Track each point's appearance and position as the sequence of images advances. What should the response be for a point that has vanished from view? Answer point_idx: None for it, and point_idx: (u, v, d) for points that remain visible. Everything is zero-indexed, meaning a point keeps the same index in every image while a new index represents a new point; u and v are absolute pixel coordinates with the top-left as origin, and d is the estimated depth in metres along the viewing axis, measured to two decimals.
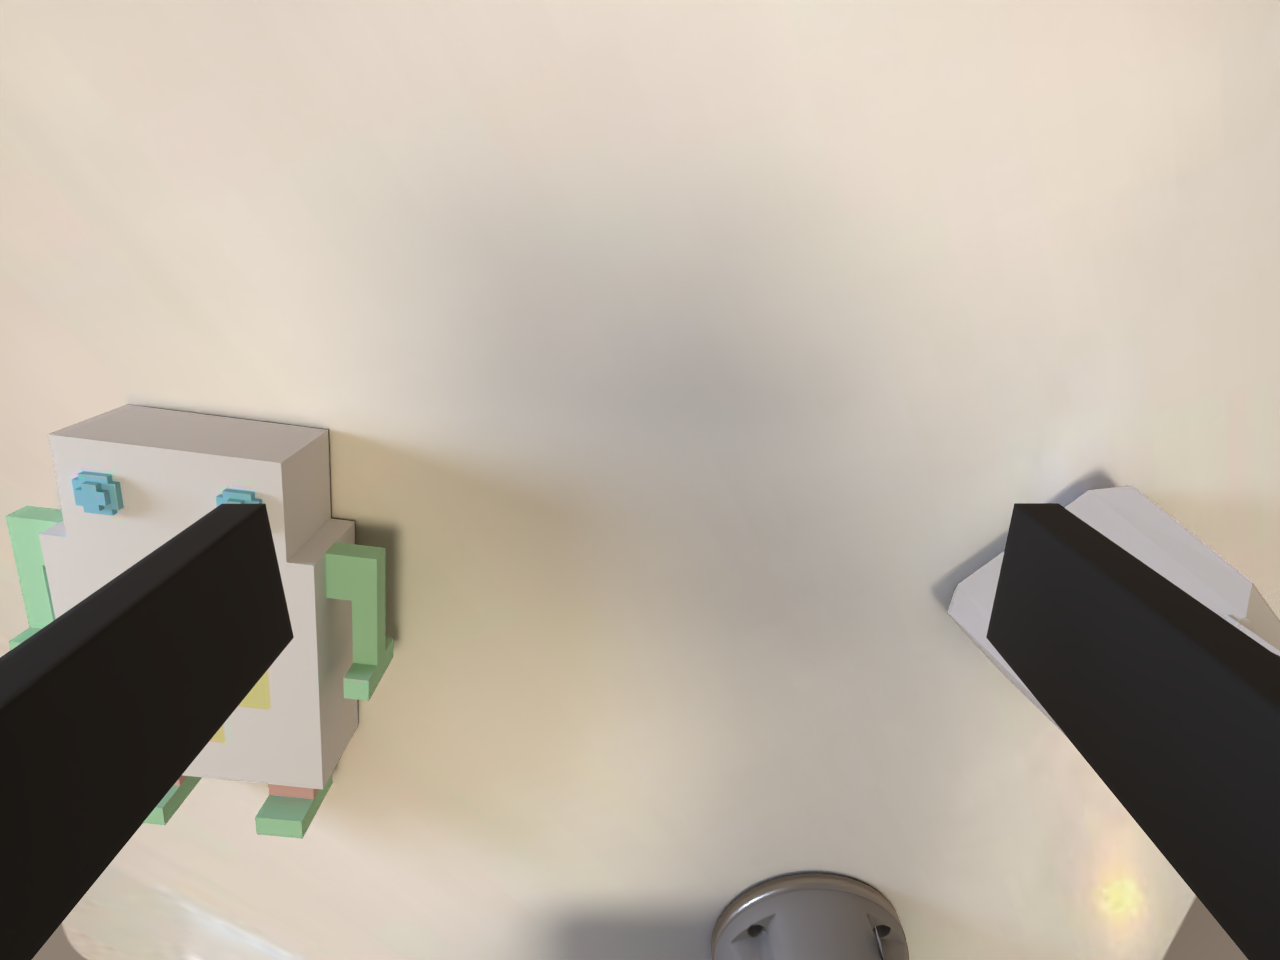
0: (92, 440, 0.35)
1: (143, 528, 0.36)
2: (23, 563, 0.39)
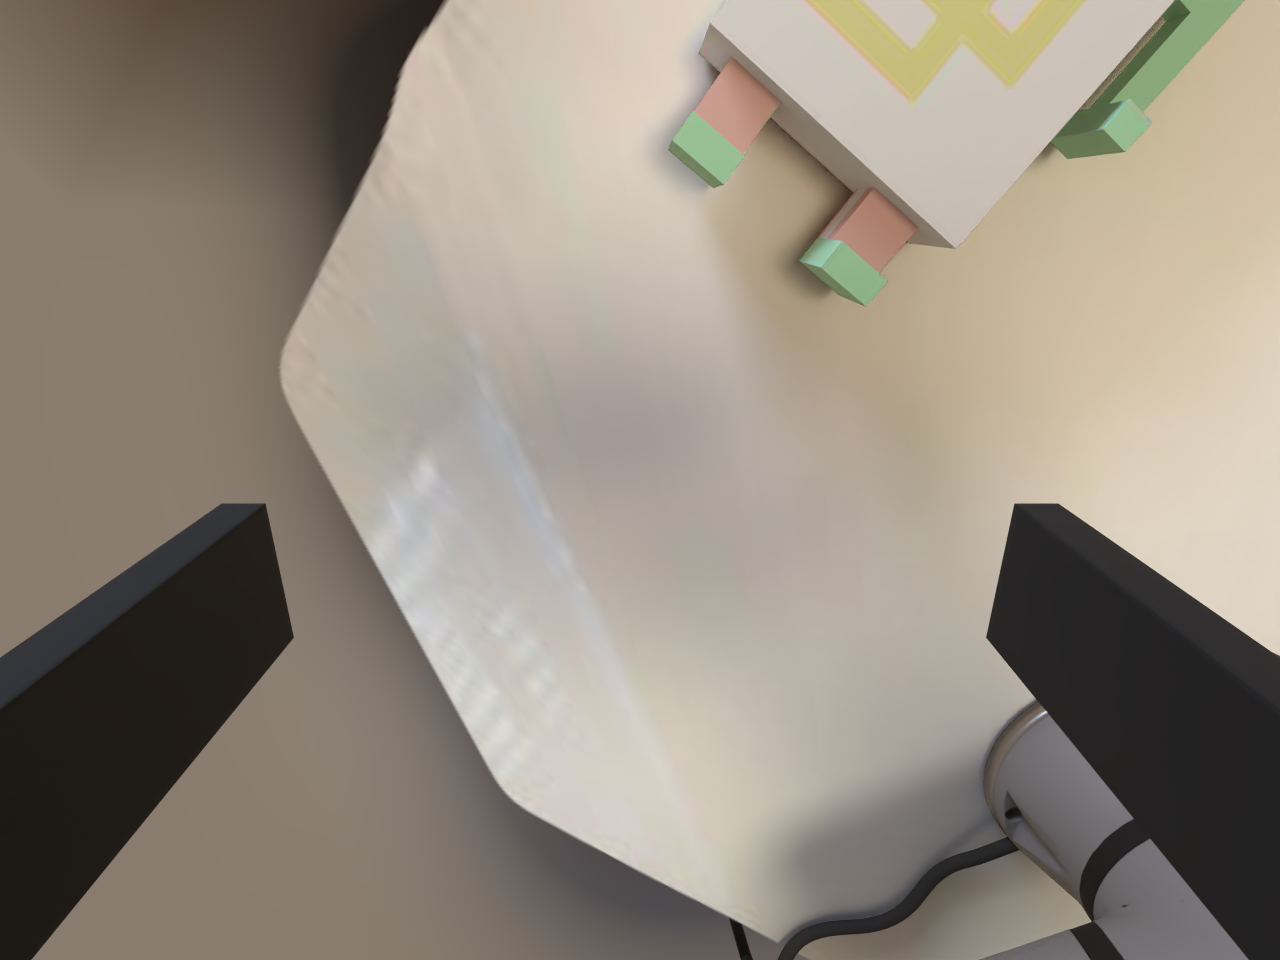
0: None
1: None
2: None
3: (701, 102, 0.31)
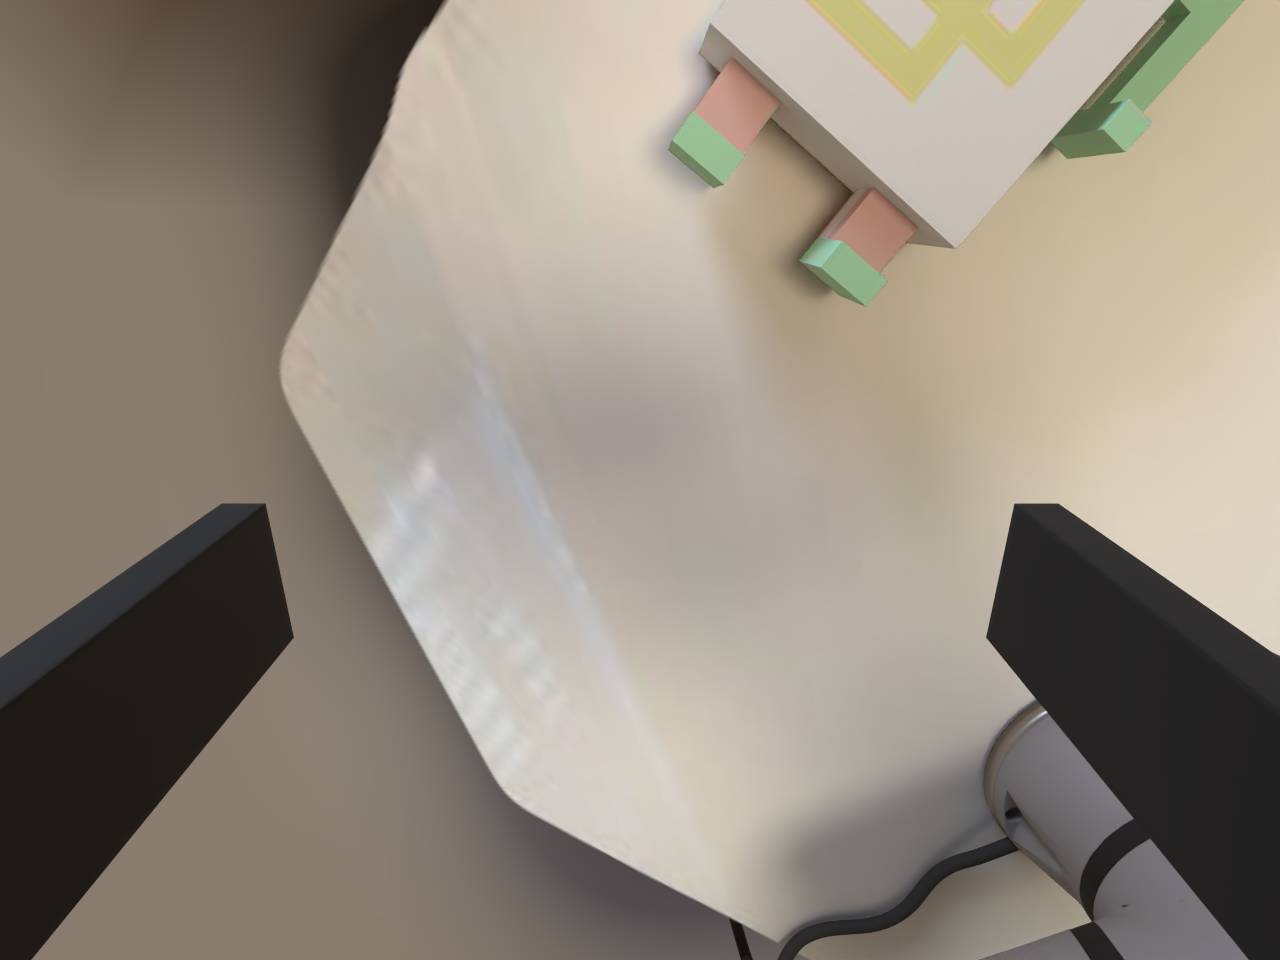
0: None
1: None
2: None
3: (701, 102, 0.31)
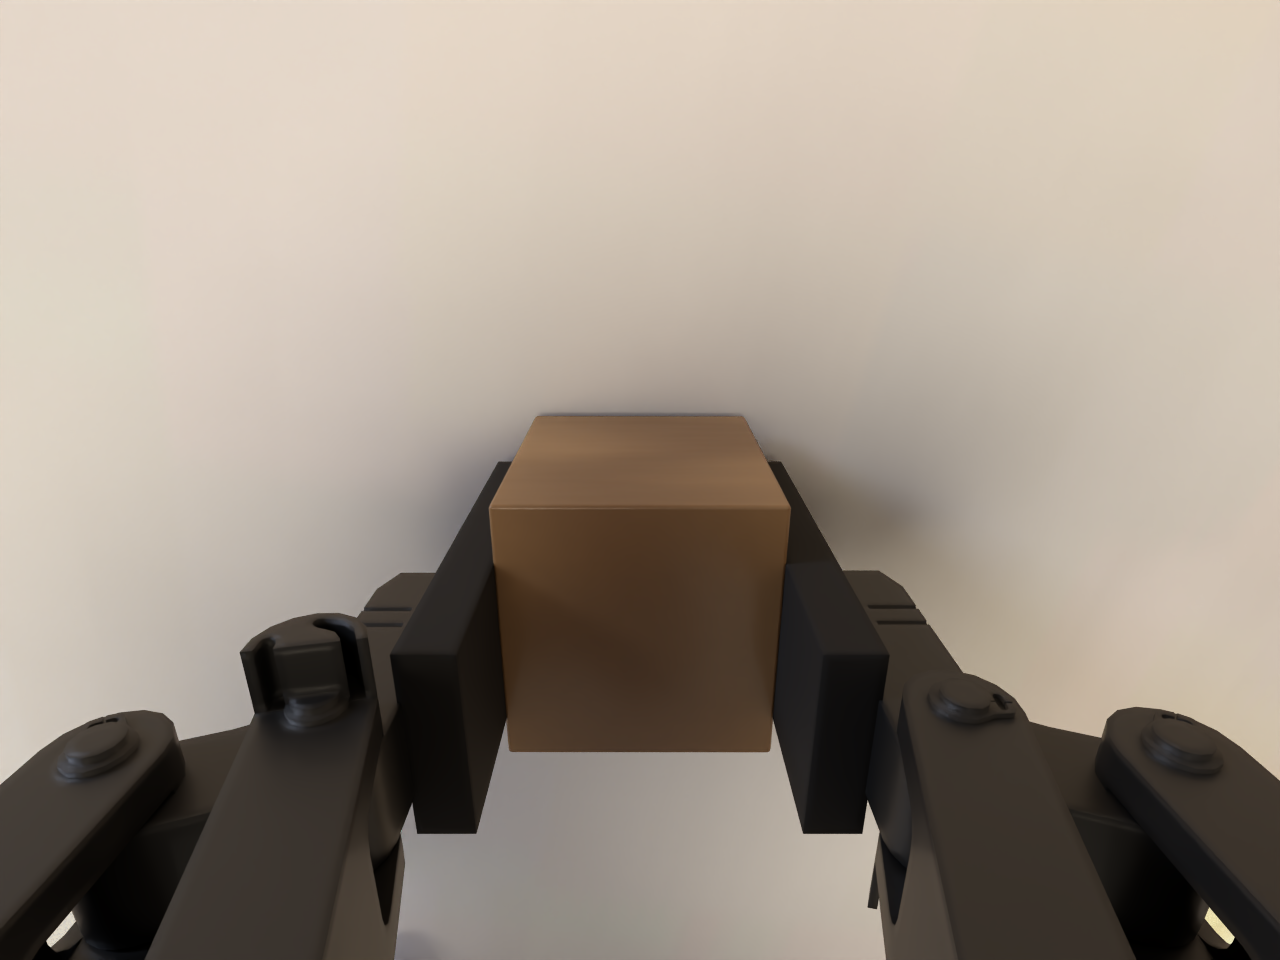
0: None
1: None
2: None
3: None
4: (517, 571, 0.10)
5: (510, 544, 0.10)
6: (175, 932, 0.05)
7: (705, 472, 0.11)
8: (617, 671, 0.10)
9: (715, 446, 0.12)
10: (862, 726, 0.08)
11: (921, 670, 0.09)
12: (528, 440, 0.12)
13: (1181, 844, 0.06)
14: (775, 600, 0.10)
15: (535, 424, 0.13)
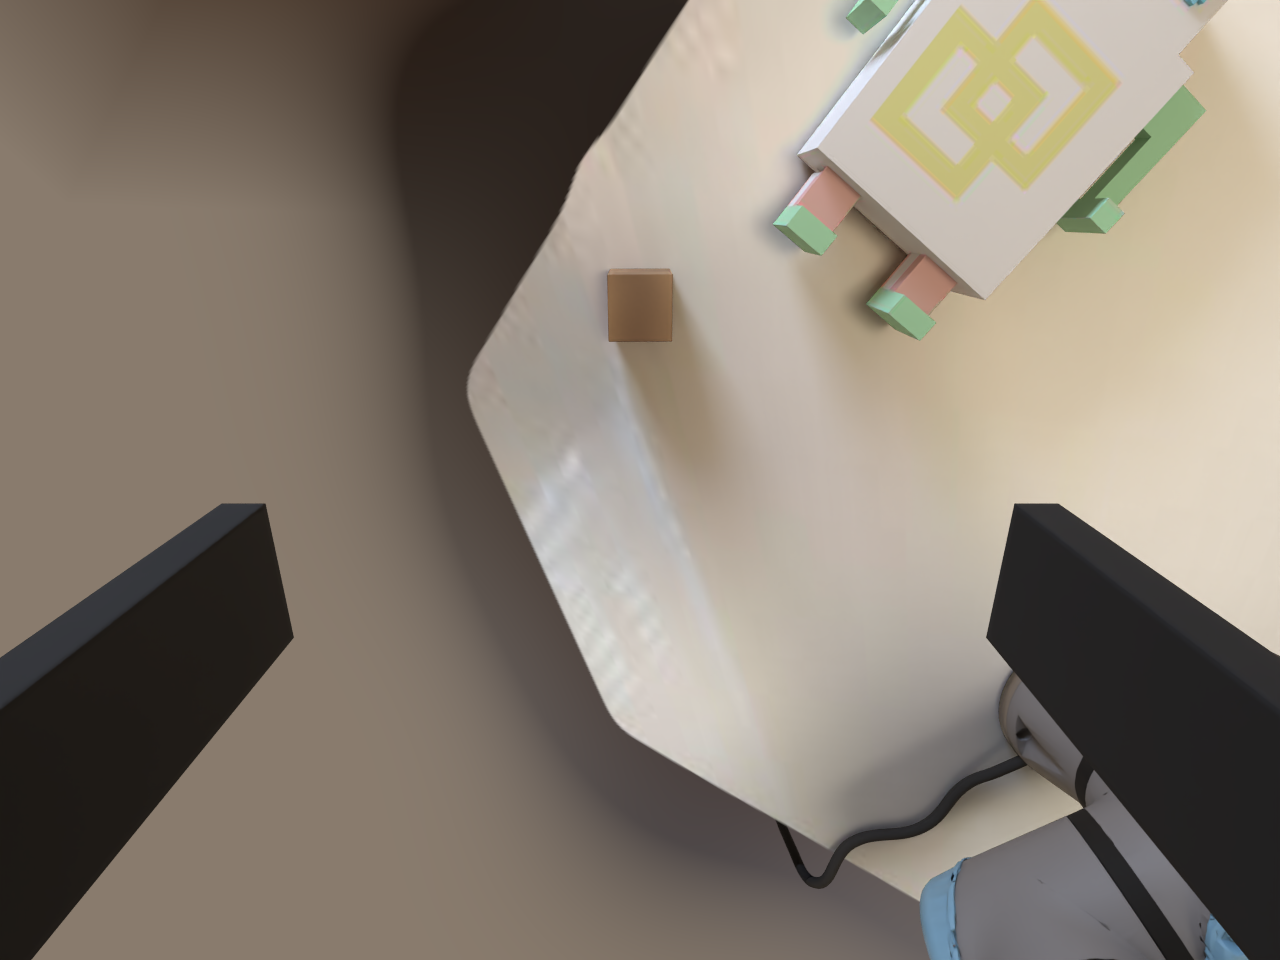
0: None
1: None
2: None
3: (804, 196, 0.43)
4: (613, 290, 0.45)
5: (611, 283, 0.44)
6: None
7: (655, 272, 0.45)
8: (635, 317, 0.45)
9: (659, 270, 0.47)
10: None
11: None
12: (610, 270, 0.47)
13: None
14: (670, 297, 0.45)
15: (610, 269, 0.48)
